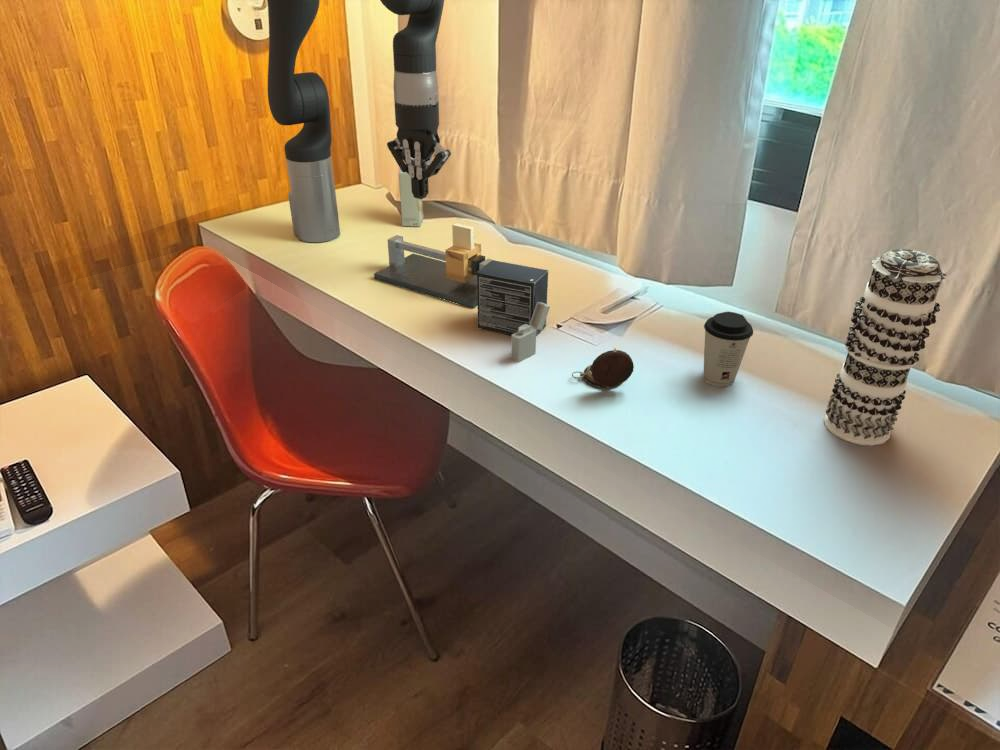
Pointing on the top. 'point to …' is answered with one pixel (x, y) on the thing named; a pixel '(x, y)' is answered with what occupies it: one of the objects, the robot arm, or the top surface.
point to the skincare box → (409, 202)
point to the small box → (509, 296)
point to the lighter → (528, 334)
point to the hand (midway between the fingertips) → (420, 197)
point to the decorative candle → (884, 345)
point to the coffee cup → (725, 347)
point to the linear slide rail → (428, 273)
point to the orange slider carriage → (461, 253)
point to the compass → (608, 369)
